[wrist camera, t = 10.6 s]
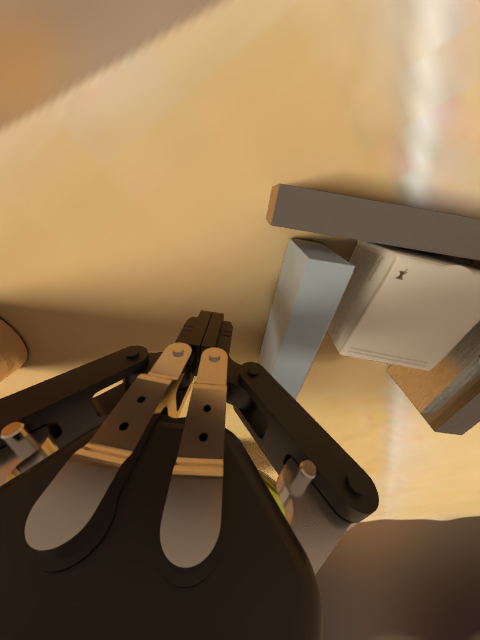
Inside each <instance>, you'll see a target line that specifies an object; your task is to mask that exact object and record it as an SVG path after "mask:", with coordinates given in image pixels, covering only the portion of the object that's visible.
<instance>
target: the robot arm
mask: <svg viewBox="0 0 480 640" xmlns="http://www.w3.org/2000/svg"><path fill="white" fill-rule="evenodd" d="M223 319H224V314H223V313H216V312H213V313H212V312H209V311H201V312H200V314H199V316H198V317H191V318H190V319H188V320H187V321H186V323H185V325H184V327H183V329H182V331H181V332H180V334H179V336H178V338H177V340H176V342H175V343H174V344H171V345H169V346H168V347H167V348H166V349H165V350H164V352H160V353H149V354H148V351H147V349H146V348H144V347H142V346H131V347H127V348H125V349H122V350H120V351H117V352H115V353H112V354H110V355H107V356H105V357H102V358H100V359H98V360H95V361H93V362H90V363H88V364H85V365H83V366H80V367H78V368H75V369H73V370H70V371H68V372H65V373H63V374H61V375H58V376H56V377H53V378H51V379H48V380H46V381H43V382H41V383H38V384H36V385H33V386H31V387H29V388H26V389H24V390H21V391H19V392H16V393H14V394H11V395H9V396H6V397H4V398H1V399H0V640H322V634H323V633H322V632H323V616H322V605H321V598H320V592H319V587H318V583H317V580H316V576H315V574H316V573H317V571H318V570H319V568H320V567H321V566H322V564H323V563H324V561H325V560H326V558H327V557H328V556H329V554H330V553H331V551H332V550H333V548H334V547H335V545H336V544H337V543H338V541H339V540H340V538H341V537H342V535H343V534H344V533H345V532H346V531H348V530H349V529H350V528H352V527H353V526H355V525H356V524H358V523H359V522H360V521H362V520H363V519H365V518H366V517H368V516H369V515H370V514H372V513H373V512H374V511H376V509H377V508H378V505H379V496H378V492H377V489H376V487H375V485H374V483H373V481H372V480H371V478H370V477H369V476H368V474H367V473H366V472H365V471H364V470H363V469H362V468H361V467H360V466H359V465H358V464H357V463H356V462H355V461H354V460H353V459H352V458H351V457H350V456H349V455H348V454H347V453H346V452H345V451H344V450H343V448H342V447H341V446H340V445H339V444H338V443H337V442H336V441H335V440H334V439H333V438H332V437H331V436H330V435H329V434H328V433H327V432H326V431H325V430H324V429H323V428H322V427H321V426H320V425H319V424H318V423H317V422H316V421H315V420H314V419H313V418H312V417H311V416H310V415H309V414H308V413H307V412H306V410H305V409H304V408H303V407H302V406H301V405H300V404H299V403H298V402H297V401H296V400H295V399H294V398H293V397H292V396H291V395H290V394H289V393H288V392H287V391H286V390H285V389H284V388H283V387H282V386H281V385H280V384H279V383H278V382H277V381H276V380H275V379H274V378H273V377H272V376H271V375H270V373H269V372H268V371H267V370H266V369H265V368H264V367H263V366H261V365H260V364H258V363H254V362H247V363H244V364H243V365H240V364H237V363H235V362H234V361H233V360H232V359H231V358H230V356H229V351H230V344H231V337H232V330H233V326H232V324H231V322H227V321H223ZM26 360H27V349H26V347H25V344H24V343H23V341H22V340H21V338H20V337H19V336H18V334H17V333H16V332H15V331H14V330H13V329H12V328H11V327H10V326H8V325H7V324H6V323H5V322H4V321H2V320H1V319H0V382H1V381H2V380H3V379H5V378H6V377H8V376H9V375H10V374H12V373H13V372H14V371H16V370H17V369H18V368H20V367H21V366H22V365H23V364H24V363H25V362H26ZM194 376H197V379H196V383H195V382H194V385H193V389H192V393H191V398H190V402H189V407H188V411H187V416H186V417H183V418H179V415H180V413H181V410H182V408H183V406H184V403H185V401H186V398H187V396H188V394H189V391H190V389H191V385H192V381H193V378H194ZM122 379H123V383H122V384H120V385H118V386H116V387H114V388H112V389H110V390H108V391H106V392H104V393H102V394H100V395H98V396H96V397H94V398H92V397H93V396H94V394H95V393H97V392H98V391H100V390H102V389H104V388H106V387H108V386H110V385H112V384H114V383H116V382H118V381H120V380H122ZM226 402H227V403H229V404H231V405H233V408H234V410H235V412H236V413H237V415H238V416H239V418H240V419H241V421H242V422H243V424H244V425H245V426H246V428H247V429H248V431H249V432H250V434H251V435H252V437H253V438H254V440H255V441H256V443H257V444H258V445H259V447H260V448H261V450H262V451H263V453H264V454H265V456H266V457H267V459H268V460H269V461H270V463H271V464H272V466H273V467H274V469H275V470H276V472H277V473H278V475H279V476H278V478H277V482H276V489H277V494H278V497H279V499H280V501H281V503H282V505H283V508H284V512H285V516H284V514H283V513H282V511H281V509H280V507H279V506H278V504H277V502H276V501H275V499H274V497H273V496H272V494H271V492H270V490H269V489H268V487H267V485H266V484H265V482H264V480H263V478H262V477H261V475H260V473H259V472H258V470H257V468H256V467H255V465H254V463H253V461H252V460H251V458H250V456H249V455H248V453H247V451H246V449H245V448H244V446H243V444H242V443H241V441H240V440H239V439H238V438H237V437H236V436H235V435H234V434H233V433H232V432H231V431H229V430H228V429H226V428H225V415H226Z"/></svg>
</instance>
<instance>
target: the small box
mask: <svg viewBox="0 0 480 640" xmlns="http://www.w3.org/2000/svg"><path fill="white" fill-rule="evenodd" d="M349 262H350V263H351V264H353V265H354V266H355V268H354V270H353V271H354V272H353V274H352V276H351V278H350V280H349V283H348V285H347V287H346V289H345V292H344V294H343V296H342V298H341V300H340V303H339V305H338V307H337V309H336V311H335V314H334V316H333V318H332V320H331V322H330V325H329V327H328V329H327V333H328V335H329V336H330V338H331V340H332V341H333V343H334V345H335V346H336V348H337V350H338V352H339V354H340V355H345V356H350V357H356V358H361V359H366V360H372V361H378V362H383V363H389V364H394V365H400V366H405V367H410V368H416V369H421V370H426V371H430V370H431V369H432V368H433V367H435V366H436V365H437V364H438V363H439V362H440V361H441V360H442V359H443V358H444V357H445V356H446V355H447V354H448V353H449V352H450V351H451V349H452V348H453V347H454V346H455V345H456V344H457V343H458V342H459V341H460V340H461V339H462V338H463V337H464V336H465V335H466V334H467V333H468V332H469V331H470V330H471V329H472V328H473V327H474V326H475V325H476V324H477V323H478V322H479V321H480V269H477V268H474V267H471V266H468V265H465V264H462V263H459V262H455V261H452V260H449V259H445V258H442V257H438V256H434V255H430V254H426V253H422V252H418V251H413V250H409V249H405V248H401V247H396V246H391V245H385V244H379V243H373V242H367V241H361V240H358V243H357V245H356V247H355V249H354V252H353V254H352V256H351V258H350V260H349Z"/></svg>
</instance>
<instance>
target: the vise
mask: <svg viewBox="0 0 480 640" xmlns="http://www.w3.org/2000/svg"><path fill="white" fill-rule="evenodd" d="M266 219H267V220H268V222H269V223H270V225H272V226H278V227H284V228H290V229H296V230H302V231H308V232H314V233H320V234H326V235H332V236H338V237H344V238H350V239H355V240H361V241H367V242H373V243H379V244H385V245H391V246H397V247H403V248H409V249H415V250H421V251H427V252H433V253H438V254H444V255H450V256H456V257H462V258H468V259H473V260H472V261H471V262H470V264H469V265H468V266H471V267H474V268H477V269H480V219H475V218H470V217H464V216H458V215H453V214H447V213H441V212H436V211H430V210H425V209H419V208H413V207H408V206H402V205H396V204H391V203H385V202H380V201H374V200H368V199H363V198H357V197H352V196H346V195H340V194H335V193H329V192H323V191H318V190H312V189H307V188H301V187H295V186H290V185H284V184H278V185H275V186H273V187H272V191H271V196H270V201H269V206H268V212H267V217H266ZM387 371H388V373H389V374H390V375H391V377H392V378H393V379H394V381H395V382H396V383H397V384H398V386H399V387H400V388H401V389H402V391H403V392H404V393H405V395H406V396H407V397H408V398H409V400H410V401H411V402H412V403H413V405H414V406H415V407H416V409H417V410H418V411H419V412H420V414H421V415H422V416H423V418H424V419H425V420H426V421H427V423H428V424H429V425H430V426H431V428H432V429H433V430H434V432H441V433H449V434H457V435H463V434H464V433H465V432H467V431H468V430H469V429H470V428H472V427H473V426H474V425H476V424H477V423H478V422H480V321H479V322H478V323H477V324H476V325H475V326H474V327H473V328H472V329H471V330H470V331H469V332H468V333H467V334H466V335H465V336H464V337H463V338H462V339H461V340H460V341H459V342H458V343H457V344H456V345H455V346H454V347H453V348H452V349H451V351H450V352H449V353H448V354H447V355H446V356H445V357H444V358H443V359H442V360H441V361H440V362H439V363H438V364H437V365H436V366H435V367H433V368H432V369H431V370H430V371H426V370H421V369H416V368H410V367H405V366H400V365H394V364H392V365H391V366H390V368H389V369H388V370H387Z"/></svg>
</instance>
